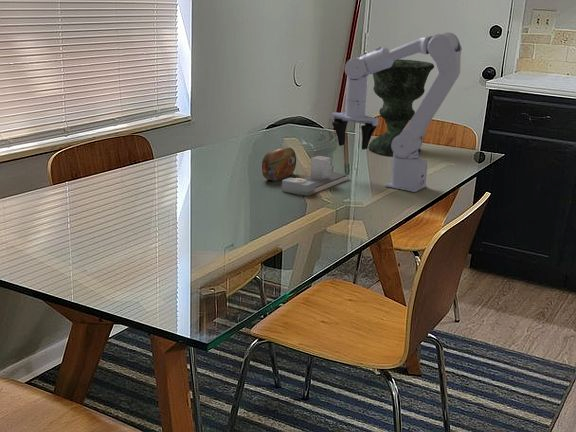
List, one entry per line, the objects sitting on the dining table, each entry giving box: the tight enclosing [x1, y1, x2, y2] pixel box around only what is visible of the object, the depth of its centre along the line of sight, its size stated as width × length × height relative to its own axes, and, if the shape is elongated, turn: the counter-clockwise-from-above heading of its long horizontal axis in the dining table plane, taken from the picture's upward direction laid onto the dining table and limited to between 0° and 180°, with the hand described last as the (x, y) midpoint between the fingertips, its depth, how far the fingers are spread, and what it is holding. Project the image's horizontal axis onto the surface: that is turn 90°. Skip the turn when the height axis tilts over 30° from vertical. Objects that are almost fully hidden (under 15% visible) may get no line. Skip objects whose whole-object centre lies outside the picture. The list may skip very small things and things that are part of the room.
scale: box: [281, 170, 350, 197], centre depth 211 cm, size 8×23×4 cm, turn 146°
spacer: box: [310, 155, 332, 181], centre depth 212 cm, size 4×4×6 cm
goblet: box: [367, 58, 435, 157], centre depth 253 cm, size 22×23×30 cm
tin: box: [261, 147, 297, 182], centre depth 217 cm, size 15×3×8 cm, turn 147°
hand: (352, 147), depth 217 cm, fingers open, 7 cm apart
